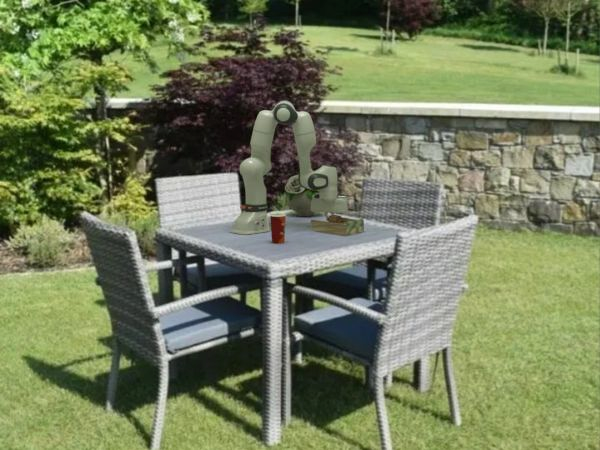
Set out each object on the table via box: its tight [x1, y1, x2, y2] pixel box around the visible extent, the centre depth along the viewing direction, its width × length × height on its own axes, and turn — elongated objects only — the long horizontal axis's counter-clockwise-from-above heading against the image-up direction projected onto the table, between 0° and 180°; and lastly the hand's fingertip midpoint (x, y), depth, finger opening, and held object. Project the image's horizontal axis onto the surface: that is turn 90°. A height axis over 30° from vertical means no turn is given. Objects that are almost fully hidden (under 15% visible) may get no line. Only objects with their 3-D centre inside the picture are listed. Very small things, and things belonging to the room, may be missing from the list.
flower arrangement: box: [284, 174, 321, 217], centre depth 447 cm, size 25×25×24 cm
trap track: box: [310, 216, 365, 237], centre depth 401 cm, size 16×23×7 cm
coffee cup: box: [269, 210, 287, 245], centre depth 373 cm, size 8×8×15 cm
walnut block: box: [328, 214, 342, 224], centre depth 405 cm, size 4×4×4 cm
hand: (329, 220), depth 409 cm, fingers closed
